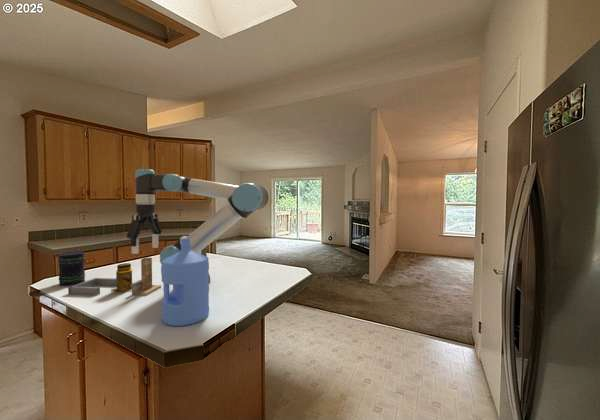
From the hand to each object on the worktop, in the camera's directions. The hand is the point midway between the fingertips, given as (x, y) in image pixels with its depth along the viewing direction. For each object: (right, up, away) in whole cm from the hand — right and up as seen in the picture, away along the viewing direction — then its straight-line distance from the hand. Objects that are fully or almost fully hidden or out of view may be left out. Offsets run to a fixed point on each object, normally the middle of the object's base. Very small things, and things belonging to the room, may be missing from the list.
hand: (145, 250), depth 118 cm
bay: (-24, -18, +3) cm, 30 cm away
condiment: (-12, -19, +2) cm, 22 cm away
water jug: (+29, -20, -25) cm, 43 cm away
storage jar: (-43, -18, +11) cm, 48 cm away
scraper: (0, -19, +1) cm, 19 cm away
